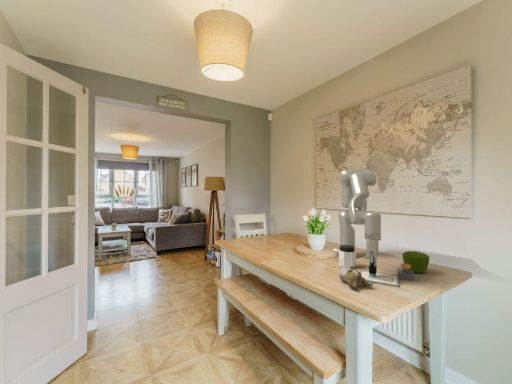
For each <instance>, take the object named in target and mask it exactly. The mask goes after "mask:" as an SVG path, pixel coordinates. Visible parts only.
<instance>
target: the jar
mask: <svg viewBox="0 0 512 384" xmlns="http://www.w3.org/2000/svg"><path fill="white" fill-rule="evenodd" d="M339 249H340V250H339V256H338V260H339V261H338V266H339V267H340V268H341V267H342V265H343V266H345V267H347V268H349V267H353V268H354V269H355V268H356V258H355V254H356V246H355V247H354V246H351V245H340V244H339Z"/></svg>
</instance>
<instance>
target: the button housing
mask: <svg viewBox="0 0 512 384" xmlns="http://www.w3.org/2000/svg"><path fill="white" fill-rule="evenodd" d="M397 276H398V277H399V280H408V281H413V282H414V281H415V273H414V271H411V270H408V273H407V272H404V268H397Z"/></svg>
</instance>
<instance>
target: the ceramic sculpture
mask: <svg viewBox="0 0 512 384" xmlns="http://www.w3.org/2000/svg"><path fill="white" fill-rule="evenodd" d="M339 280H341V282H345V283H347V285H348V287H350V288H351V289H357V287H359V286H360V285H362V286H365V287H369V286H371V287H372V286H373V285H374V284H373V283H371V282H368V280H367V279H365V278H363V277H362V275H361V273H360V271H359V270H357V269H355V268H353V267H349V268H347V267H345V266H343V265H342V267H340V271H339Z"/></svg>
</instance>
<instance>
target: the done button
mask: <svg viewBox="0 0 512 384" xmlns="http://www.w3.org/2000/svg"><path fill="white" fill-rule="evenodd" d="M400 269H404V272H407V273H408V269H411V265H410V264H404V262H402V263H400Z"/></svg>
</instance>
